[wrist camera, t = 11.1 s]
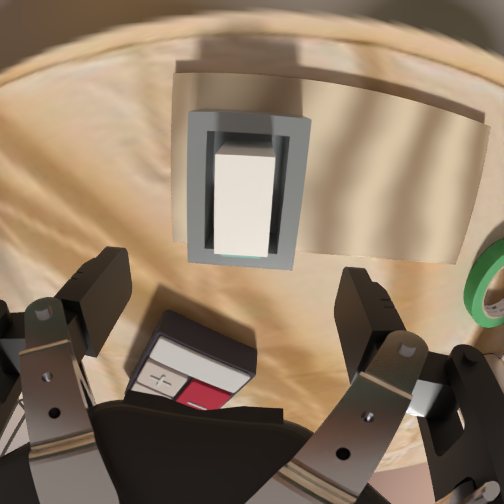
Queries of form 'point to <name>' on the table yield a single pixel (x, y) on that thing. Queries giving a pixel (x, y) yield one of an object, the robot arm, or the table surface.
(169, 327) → the calculator
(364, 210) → the beige mat
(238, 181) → the white block
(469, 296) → the tape roll
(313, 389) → the table surface
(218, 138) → the end holder
